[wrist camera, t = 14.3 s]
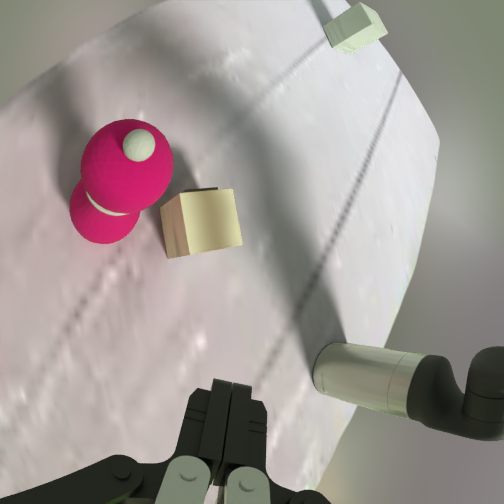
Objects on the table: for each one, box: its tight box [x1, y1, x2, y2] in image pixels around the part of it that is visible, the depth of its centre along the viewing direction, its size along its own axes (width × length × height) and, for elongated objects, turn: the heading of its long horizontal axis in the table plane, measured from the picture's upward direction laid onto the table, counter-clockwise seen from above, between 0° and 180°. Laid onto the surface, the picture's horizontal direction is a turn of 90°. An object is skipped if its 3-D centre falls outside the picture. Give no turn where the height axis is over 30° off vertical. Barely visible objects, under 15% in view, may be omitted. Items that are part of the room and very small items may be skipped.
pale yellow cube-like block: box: [159, 187, 243, 259], centre depth 34 cm, size 6×6×7 cm
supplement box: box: [323, 2, 388, 55], centre depth 54 cm, size 7×7×13 cm
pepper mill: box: [70, 119, 173, 244], centre depth 22 cm, size 7×7×20 cm
